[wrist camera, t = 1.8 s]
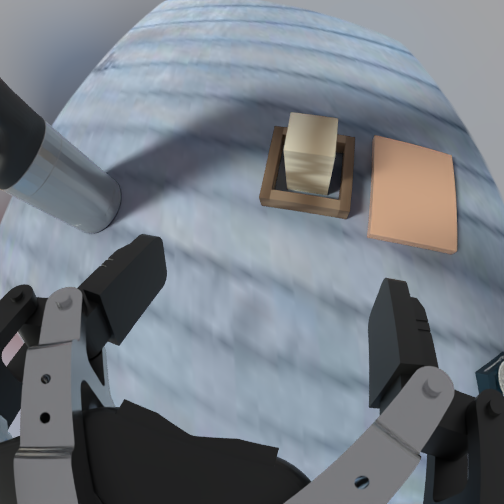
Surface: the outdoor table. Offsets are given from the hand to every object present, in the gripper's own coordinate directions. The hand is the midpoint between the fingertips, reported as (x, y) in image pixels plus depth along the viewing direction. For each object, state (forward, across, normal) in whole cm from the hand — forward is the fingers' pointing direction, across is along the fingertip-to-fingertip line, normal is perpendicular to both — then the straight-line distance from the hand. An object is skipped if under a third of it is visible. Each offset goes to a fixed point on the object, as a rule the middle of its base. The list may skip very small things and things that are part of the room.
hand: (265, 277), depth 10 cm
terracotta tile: (+28, -14, +5) cm, 32 cm away
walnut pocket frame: (+28, 0, +5) cm, 29 cm away
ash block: (+28, 0, +5) cm, 29 cm away
